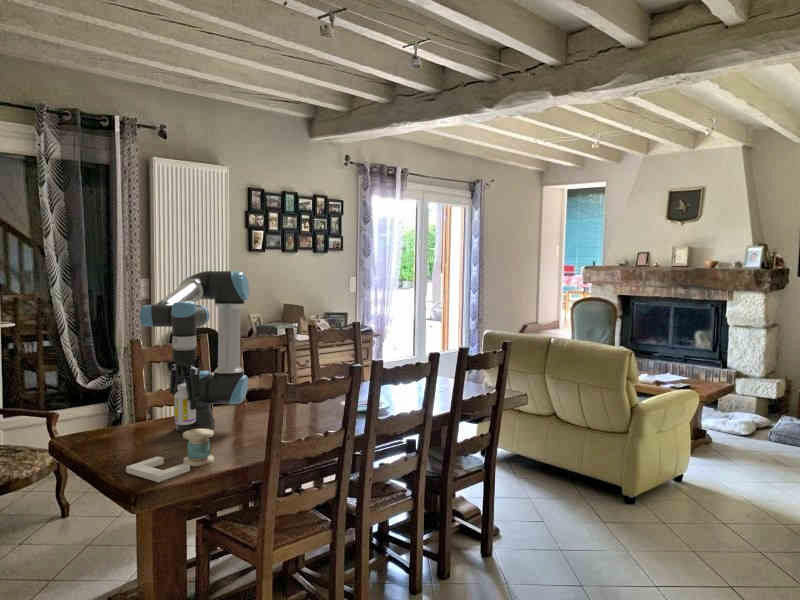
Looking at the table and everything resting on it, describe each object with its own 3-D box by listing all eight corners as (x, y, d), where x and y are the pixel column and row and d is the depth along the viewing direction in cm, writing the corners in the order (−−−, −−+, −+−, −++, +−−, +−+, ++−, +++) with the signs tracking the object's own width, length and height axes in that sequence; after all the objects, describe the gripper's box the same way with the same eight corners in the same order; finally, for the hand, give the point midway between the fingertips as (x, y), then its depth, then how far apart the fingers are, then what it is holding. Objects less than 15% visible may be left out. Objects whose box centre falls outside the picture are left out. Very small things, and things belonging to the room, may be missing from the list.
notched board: (157, 462, 204) (157, 456, 203) (189, 470, 196) (189, 464, 195) (126, 472, 193) (126, 466, 193) (158, 482, 185) (158, 476, 185)
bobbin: (200, 454, 212) (199, 427, 211) (220, 459, 207) (219, 431, 206) (176, 462, 203) (176, 433, 202) (197, 468, 198) (196, 438, 197)
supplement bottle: (199, 420, 201) (199, 383, 200) (189, 426, 194) (188, 387, 193) (181, 419, 202) (181, 382, 201) (170, 424, 195) (170, 386, 194)
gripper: (157, 346, 199) (158, 414, 201) (191, 352, 187) (192, 424, 189) (177, 344, 205) (178, 410, 207) (212, 350, 193) (212, 419, 195)
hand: (185, 416), depth 198 cm, fingers closed on supplement bottle, 7 cm apart
